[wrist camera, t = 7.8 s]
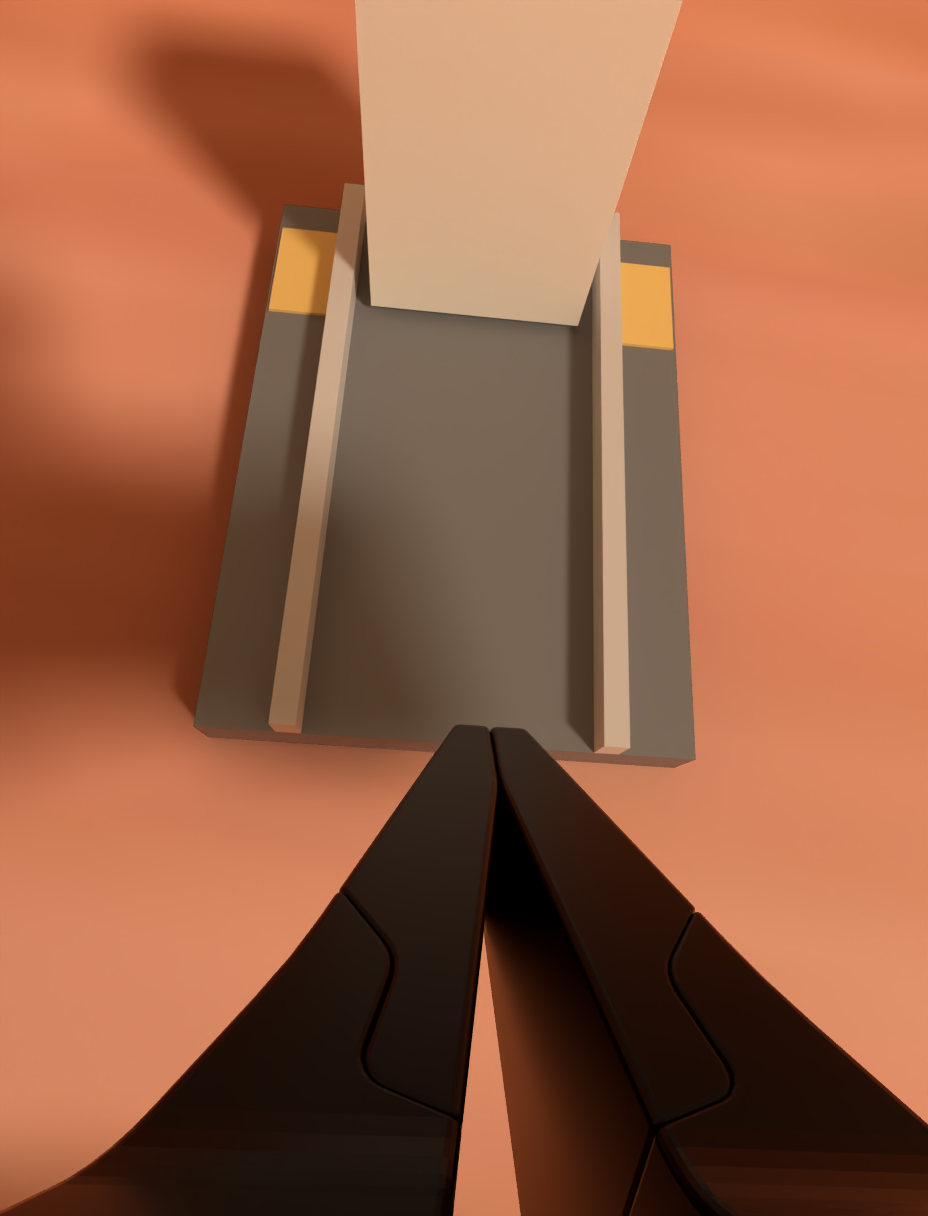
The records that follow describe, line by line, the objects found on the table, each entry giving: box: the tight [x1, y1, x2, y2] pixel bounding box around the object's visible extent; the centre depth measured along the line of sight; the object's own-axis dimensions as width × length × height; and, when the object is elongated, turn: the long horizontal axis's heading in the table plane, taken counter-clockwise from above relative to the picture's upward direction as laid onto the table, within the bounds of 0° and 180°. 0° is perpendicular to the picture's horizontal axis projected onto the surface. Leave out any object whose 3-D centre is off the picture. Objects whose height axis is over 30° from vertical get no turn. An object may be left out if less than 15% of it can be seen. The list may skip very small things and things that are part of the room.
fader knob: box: [355, 0, 683, 326], centre depth 17 cm, size 3×6×11 cm, turn 87°
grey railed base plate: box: [193, 183, 696, 768], centre depth 21 cm, size 16×12×2 cm
